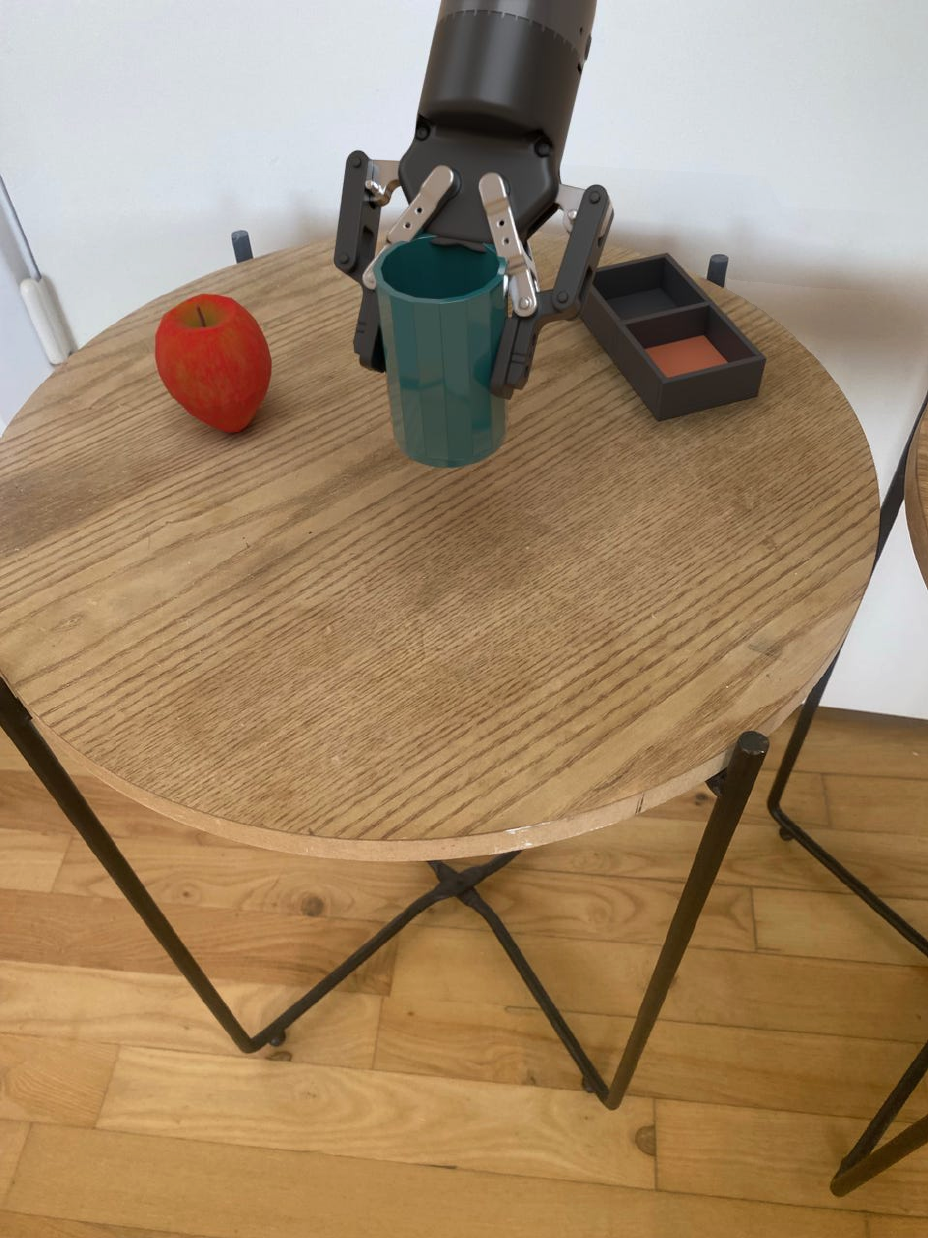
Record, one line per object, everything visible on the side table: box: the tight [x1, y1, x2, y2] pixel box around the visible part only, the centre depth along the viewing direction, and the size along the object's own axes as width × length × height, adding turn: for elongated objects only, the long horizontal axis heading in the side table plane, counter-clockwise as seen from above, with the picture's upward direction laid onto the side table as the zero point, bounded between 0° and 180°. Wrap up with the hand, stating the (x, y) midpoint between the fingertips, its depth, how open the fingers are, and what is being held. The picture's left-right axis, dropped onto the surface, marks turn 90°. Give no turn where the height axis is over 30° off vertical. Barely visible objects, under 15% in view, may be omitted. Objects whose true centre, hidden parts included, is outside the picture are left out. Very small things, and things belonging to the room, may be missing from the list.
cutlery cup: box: [373, 233, 509, 469], centre depth 50 cm, size 6×6×10 cm
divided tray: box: [579, 252, 767, 422], centre depth 80 cm, size 17×9×4 cm, turn 19°
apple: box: [154, 293, 273, 434], centre depth 73 cm, size 9×8×11 cm
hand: (435, 381), depth 49 cm, fingers closed on cutlery cup, 6 cm apart
